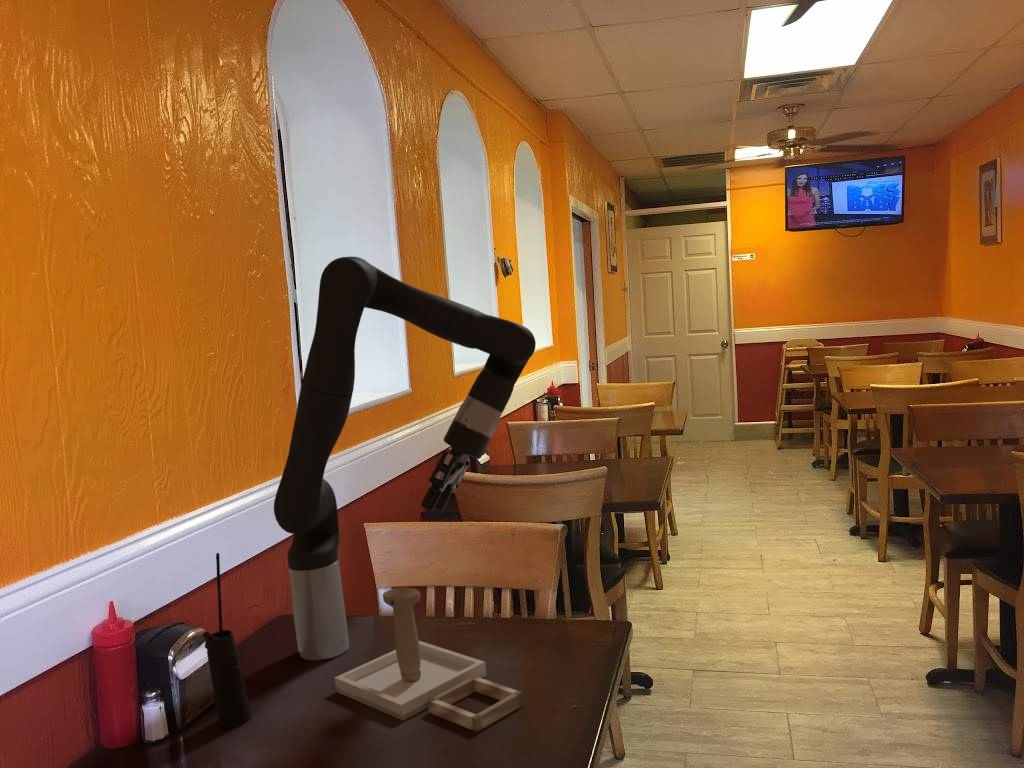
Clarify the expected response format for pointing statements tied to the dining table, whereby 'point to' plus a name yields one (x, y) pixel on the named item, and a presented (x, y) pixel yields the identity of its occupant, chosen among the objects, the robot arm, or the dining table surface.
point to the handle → (405, 630)
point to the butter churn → (226, 672)
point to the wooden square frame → (477, 722)
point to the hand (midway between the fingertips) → (431, 508)
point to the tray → (404, 699)
